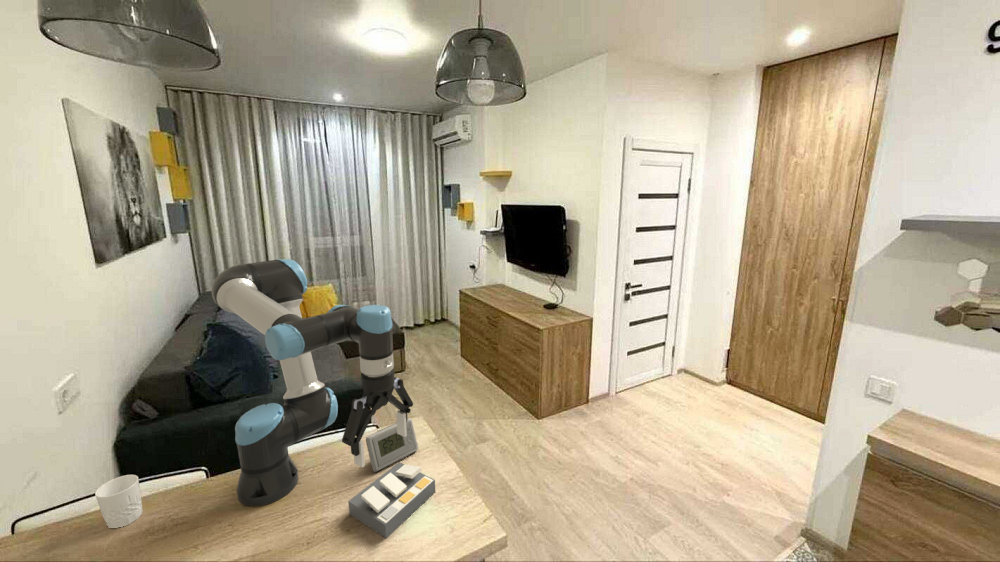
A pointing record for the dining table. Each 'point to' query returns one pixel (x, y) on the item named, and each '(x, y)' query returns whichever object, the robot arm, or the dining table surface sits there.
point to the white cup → (120, 501)
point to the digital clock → (390, 445)
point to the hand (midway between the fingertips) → (382, 448)
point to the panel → (393, 502)
